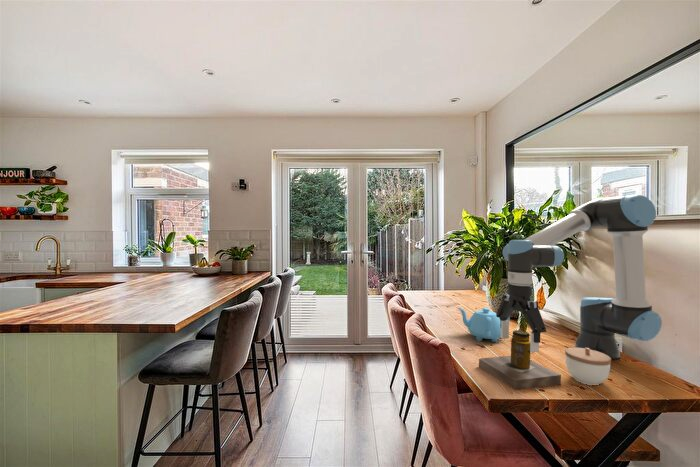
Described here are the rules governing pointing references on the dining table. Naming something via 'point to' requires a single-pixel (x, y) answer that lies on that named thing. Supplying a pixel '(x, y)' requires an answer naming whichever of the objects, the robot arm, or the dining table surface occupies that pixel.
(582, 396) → the dining table surface
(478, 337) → the teapot
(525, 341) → the condiment
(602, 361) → the lidded bowl
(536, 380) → the grey flat square piece
